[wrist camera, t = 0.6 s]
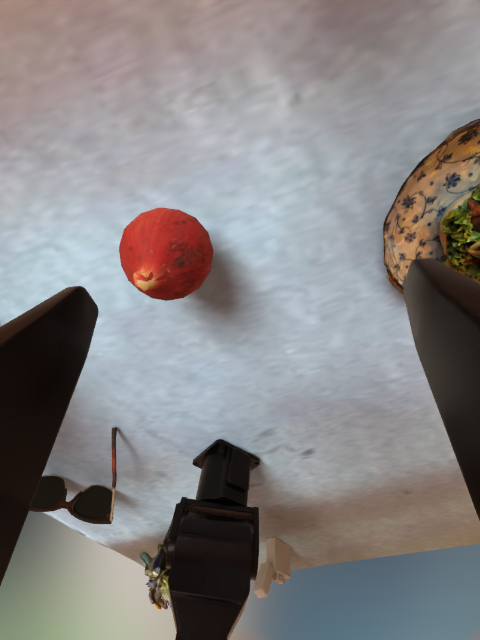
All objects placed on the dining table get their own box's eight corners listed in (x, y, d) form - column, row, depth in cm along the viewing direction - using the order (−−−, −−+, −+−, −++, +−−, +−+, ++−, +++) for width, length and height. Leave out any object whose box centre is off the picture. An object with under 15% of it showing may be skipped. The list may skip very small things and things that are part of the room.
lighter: (289, 546, 51) (292, 609, 45) (281, 548, 52) (283, 610, 46) (262, 529, 49) (261, 594, 42) (254, 532, 50) (252, 595, 43)
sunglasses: (33, 472, 45) (8, 506, 41) (20, 396, 37) (-13, 430, 32) (124, 491, 46) (110, 527, 41) (131, 422, 38) (114, 458, 33)
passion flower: (179, 512, 60) (124, 563, 51) (206, 505, 53) (148, 562, 44) (208, 567, 58) (157, 630, 49) (241, 567, 51) (187, 641, 42)
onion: (205, 186, 21) (174, 218, 14) (229, 263, 24) (212, 319, 17) (130, 208, 22) (69, 246, 15) (162, 278, 25) (122, 335, 18)
